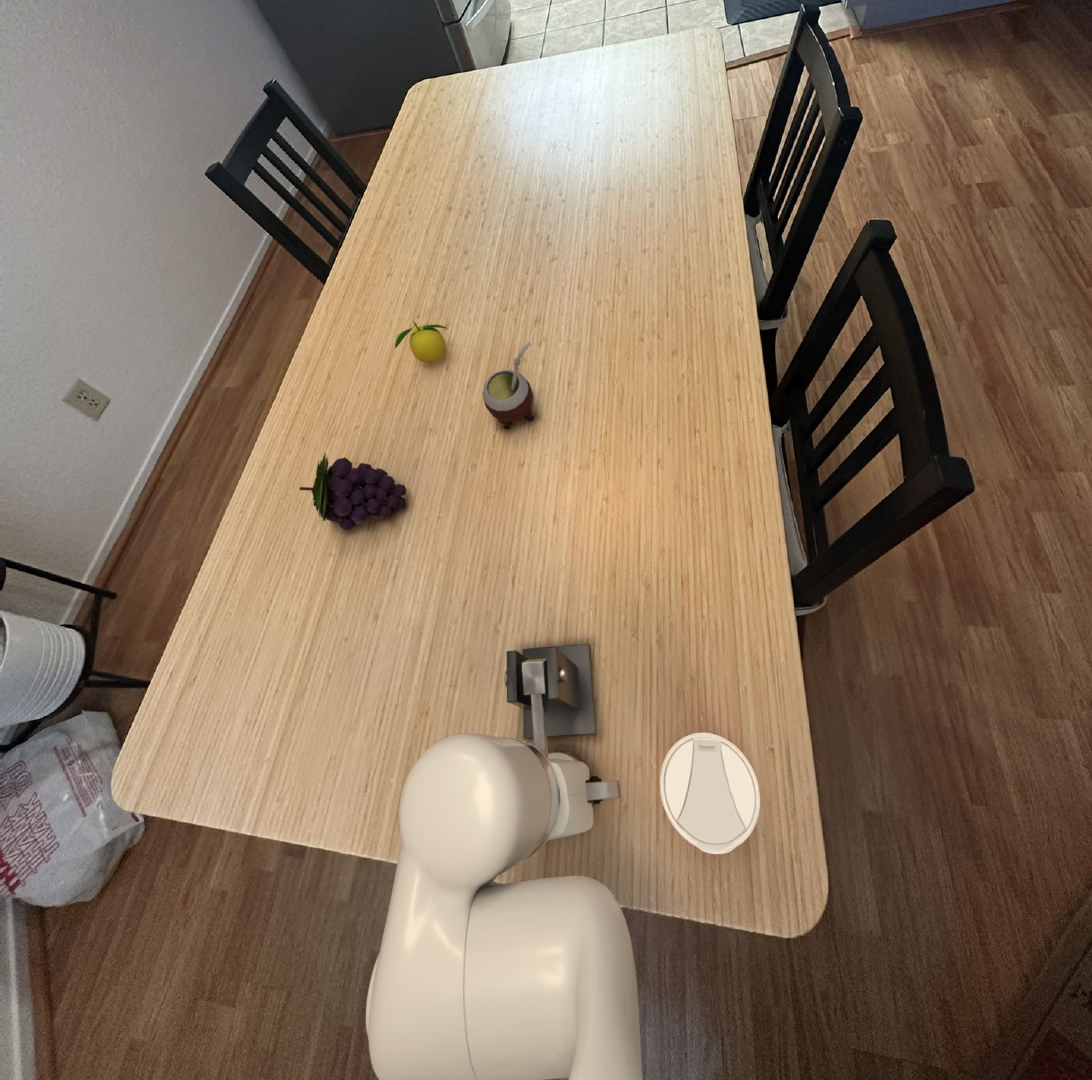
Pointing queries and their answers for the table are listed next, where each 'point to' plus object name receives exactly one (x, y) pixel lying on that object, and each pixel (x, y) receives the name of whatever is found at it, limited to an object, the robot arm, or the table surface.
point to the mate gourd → (509, 394)
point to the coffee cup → (709, 792)
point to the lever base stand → (557, 689)
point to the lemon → (425, 342)
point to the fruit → (354, 493)
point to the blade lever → (537, 698)
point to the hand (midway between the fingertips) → (551, 790)
